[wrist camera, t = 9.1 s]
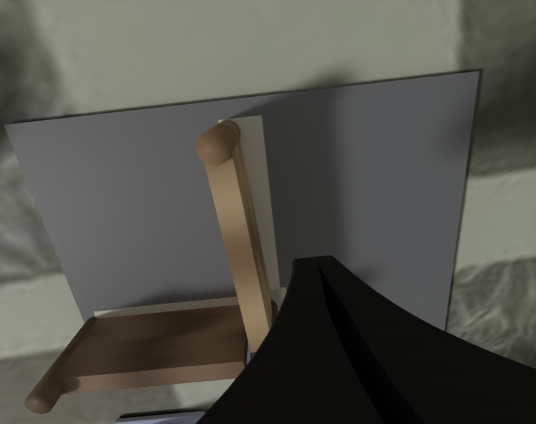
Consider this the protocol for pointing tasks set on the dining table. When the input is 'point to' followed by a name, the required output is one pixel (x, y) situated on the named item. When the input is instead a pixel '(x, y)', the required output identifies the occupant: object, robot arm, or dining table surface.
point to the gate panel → (238, 225)
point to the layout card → (258, 194)
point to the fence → (147, 353)
